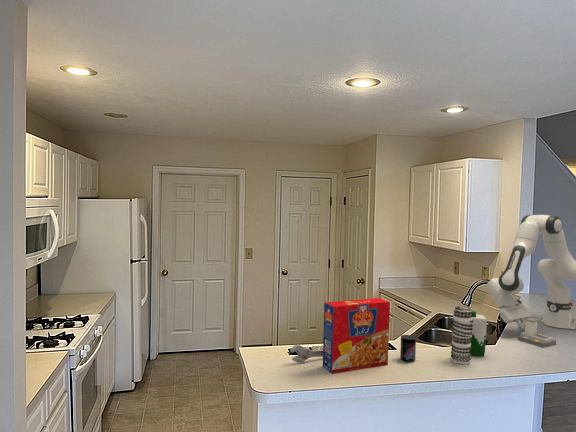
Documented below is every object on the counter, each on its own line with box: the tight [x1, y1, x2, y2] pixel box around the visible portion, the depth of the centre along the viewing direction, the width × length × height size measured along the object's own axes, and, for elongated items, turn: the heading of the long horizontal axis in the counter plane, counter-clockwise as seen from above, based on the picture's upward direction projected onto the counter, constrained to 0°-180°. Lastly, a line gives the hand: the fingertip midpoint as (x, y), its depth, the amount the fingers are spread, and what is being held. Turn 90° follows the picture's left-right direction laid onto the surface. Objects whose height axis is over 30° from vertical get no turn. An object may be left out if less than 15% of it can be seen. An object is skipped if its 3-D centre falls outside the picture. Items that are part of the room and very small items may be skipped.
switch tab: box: [524, 318, 539, 337], centre depth 228 cm, size 4×4×9 cm
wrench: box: [289, 344, 323, 365], centre depth 193 cm, size 8×2×30 cm
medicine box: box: [517, 314, 538, 332], centre depth 245 cm, size 8×4×9 cm, turn 84°
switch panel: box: [517, 331, 557, 349], centre depth 225 cm, size 12×13×4 cm
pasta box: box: [322, 297, 391, 375], centre depth 186 cm, size 28×8×28 cm, turn 114°
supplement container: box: [399, 334, 417, 363], centre depth 195 cm, size 7×7×10 cm
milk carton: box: [470, 310, 488, 358], centre depth 205 cm, size 9×9×20 cm
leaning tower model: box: [450, 304, 473, 365], centre depth 195 cm, size 9×9×25 cm
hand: (524, 327), depth 231 cm, fingers closed
